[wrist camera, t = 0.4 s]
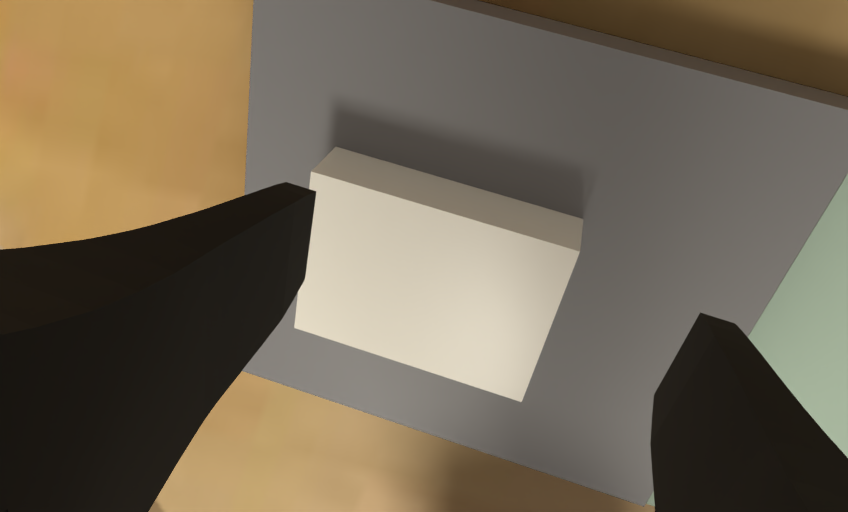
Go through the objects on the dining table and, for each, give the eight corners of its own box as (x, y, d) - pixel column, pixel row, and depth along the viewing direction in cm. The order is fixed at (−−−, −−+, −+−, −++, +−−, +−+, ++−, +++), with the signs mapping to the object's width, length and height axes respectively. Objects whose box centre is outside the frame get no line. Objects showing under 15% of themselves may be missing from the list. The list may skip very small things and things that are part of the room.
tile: (528, 363, 23) (521, 402, 22) (316, 295, 24) (293, 328, 22) (583, 219, 20) (579, 251, 18) (335, 146, 21) (310, 171, 19)
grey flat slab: (642, 476, 26) (643, 506, 25) (253, 346, 28) (236, 368, 27) (862, 100, 18) (880, 118, 17) (278, -52, 20) (255, -46, 18)
